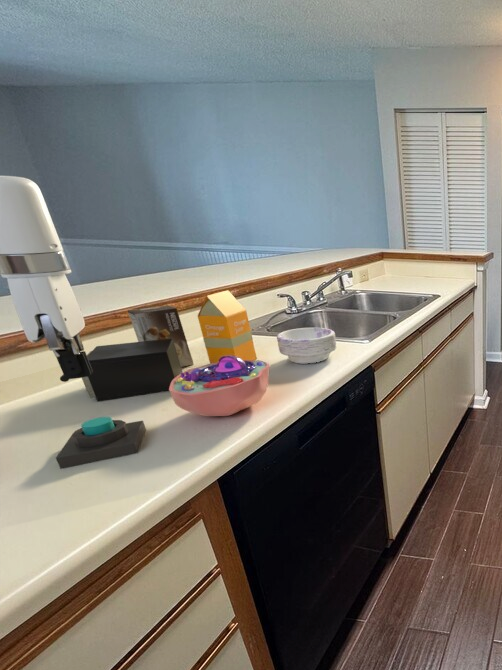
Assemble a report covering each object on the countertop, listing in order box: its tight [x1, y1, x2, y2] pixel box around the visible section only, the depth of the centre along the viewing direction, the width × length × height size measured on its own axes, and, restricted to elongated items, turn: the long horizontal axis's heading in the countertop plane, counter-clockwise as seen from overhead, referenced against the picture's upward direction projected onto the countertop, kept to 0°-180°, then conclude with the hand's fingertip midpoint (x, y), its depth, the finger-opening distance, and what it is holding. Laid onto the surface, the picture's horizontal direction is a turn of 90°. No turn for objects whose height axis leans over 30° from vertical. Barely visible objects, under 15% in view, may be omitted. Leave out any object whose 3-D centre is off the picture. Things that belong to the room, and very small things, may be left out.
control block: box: [55, 419, 147, 470], centre depth 76 cm, size 10×10×4 cm
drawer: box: [59, 350, 96, 399], centre depth 99 cm, size 18×11×8 cm, turn 122°
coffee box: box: [127, 304, 194, 368], centre depth 113 cm, size 9×6×16 cm
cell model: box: [168, 355, 270, 417], centre depth 90 cm, size 17×20×11 cm
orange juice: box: [197, 289, 258, 364], centre depth 116 cm, size 8×9×20 cm
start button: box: [80, 416, 115, 435], centre depth 75 cm, size 4×4×2 cm
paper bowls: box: [276, 327, 337, 365], centre depth 122 cm, size 15×15×8 cm
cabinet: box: [87, 338, 184, 402], centre depth 101 cm, size 15×13×10 cm
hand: (79, 376), depth 72 cm, fingers closed
